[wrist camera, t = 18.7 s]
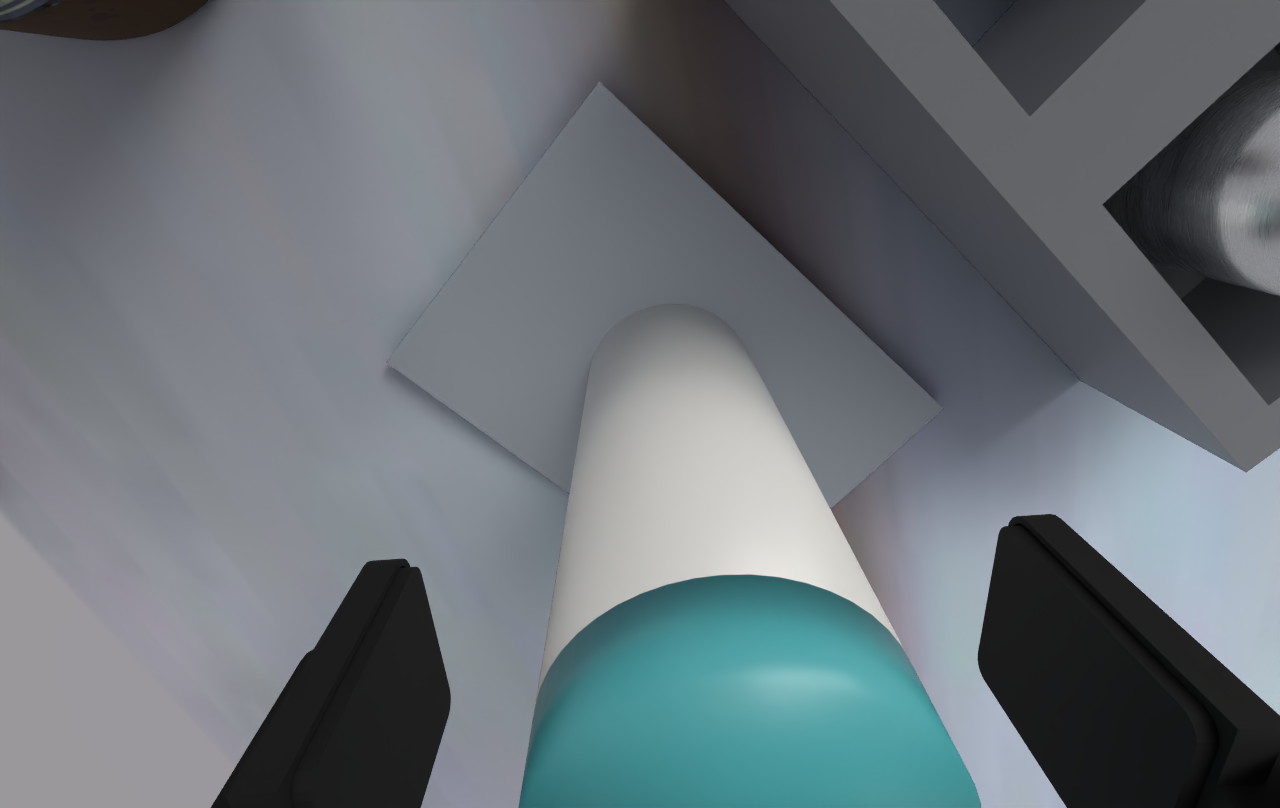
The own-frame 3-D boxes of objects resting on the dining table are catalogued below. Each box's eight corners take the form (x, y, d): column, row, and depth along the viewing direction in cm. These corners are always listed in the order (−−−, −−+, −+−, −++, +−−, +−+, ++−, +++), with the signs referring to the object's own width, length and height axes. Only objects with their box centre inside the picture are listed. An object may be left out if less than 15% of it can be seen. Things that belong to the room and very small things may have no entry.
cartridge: (580, 310, 19) (477, 701, 6) (752, 297, 19) (1017, 667, 6) (596, 461, 21) (544, 1001, 8) (752, 451, 21) (952, 978, 8)
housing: (660, -68, 16) (676, -173, 10) (951, -464, 13) (1179, -883, 8) (1081, 380, 21) (1246, 472, 15) (1353, 152, 18) (1671, 162, 13)
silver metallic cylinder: (1057, 183, 16) (1224, 204, 12) (1215, 33, 15) (1470, -8, 11) (1152, 295, 18) (1338, 354, 13) (1305, 165, 16) (1570, 178, 12)
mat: (392, 355, 20) (385, 362, 19) (600, 82, 17) (599, 81, 17) (720, 593, 24) (722, 604, 23) (935, 401, 21) (944, 408, 20)
